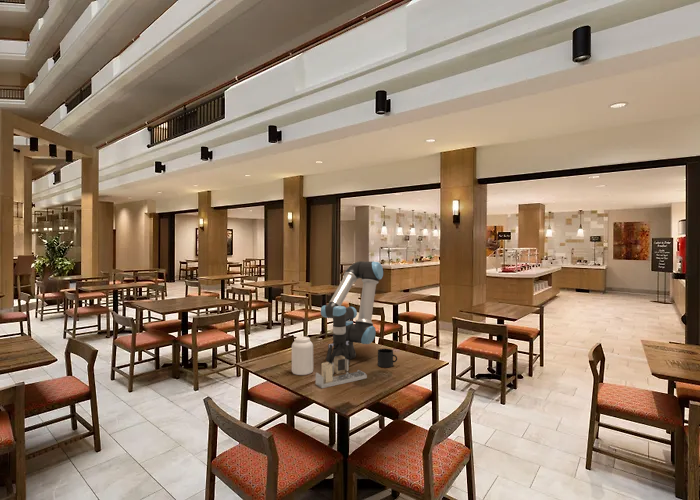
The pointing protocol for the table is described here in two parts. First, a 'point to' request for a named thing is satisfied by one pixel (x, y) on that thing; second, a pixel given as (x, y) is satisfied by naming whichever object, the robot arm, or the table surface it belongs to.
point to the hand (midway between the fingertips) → (339, 371)
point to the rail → (329, 380)
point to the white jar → (302, 356)
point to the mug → (386, 358)
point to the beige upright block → (339, 364)
